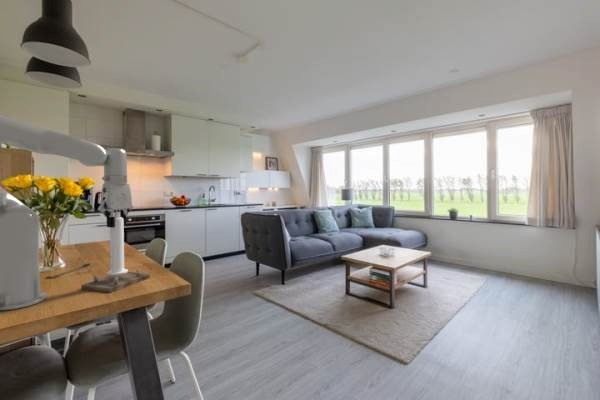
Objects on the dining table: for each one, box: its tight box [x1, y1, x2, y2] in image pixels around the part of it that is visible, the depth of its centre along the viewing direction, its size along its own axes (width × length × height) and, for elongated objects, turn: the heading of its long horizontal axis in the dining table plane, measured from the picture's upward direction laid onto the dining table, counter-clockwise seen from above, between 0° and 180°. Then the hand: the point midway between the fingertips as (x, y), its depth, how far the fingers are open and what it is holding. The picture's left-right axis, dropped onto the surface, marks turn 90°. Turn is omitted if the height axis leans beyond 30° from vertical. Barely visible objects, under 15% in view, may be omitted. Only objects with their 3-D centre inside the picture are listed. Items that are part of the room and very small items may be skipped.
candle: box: [106, 209, 129, 276], centre depth 109 cm, size 7×7×25 cm
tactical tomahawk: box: [45, 263, 91, 280], centre depth 125 cm, size 21×7×1 cm, turn 176°
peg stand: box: [80, 269, 151, 294], centre depth 110 cm, size 18×14×4 cm
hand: (116, 225), depth 109 cm, fingers closed on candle, 4 cm apart
